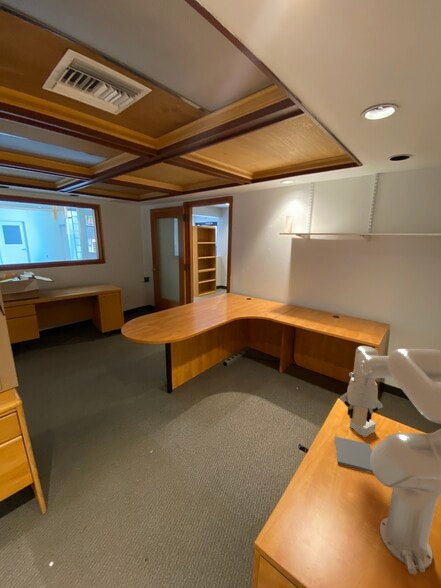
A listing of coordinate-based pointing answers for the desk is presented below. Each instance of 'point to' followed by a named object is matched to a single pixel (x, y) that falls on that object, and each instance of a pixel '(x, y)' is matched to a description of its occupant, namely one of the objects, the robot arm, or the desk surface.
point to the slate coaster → (353, 454)
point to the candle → (359, 415)
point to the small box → (364, 428)
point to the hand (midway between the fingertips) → (358, 417)
